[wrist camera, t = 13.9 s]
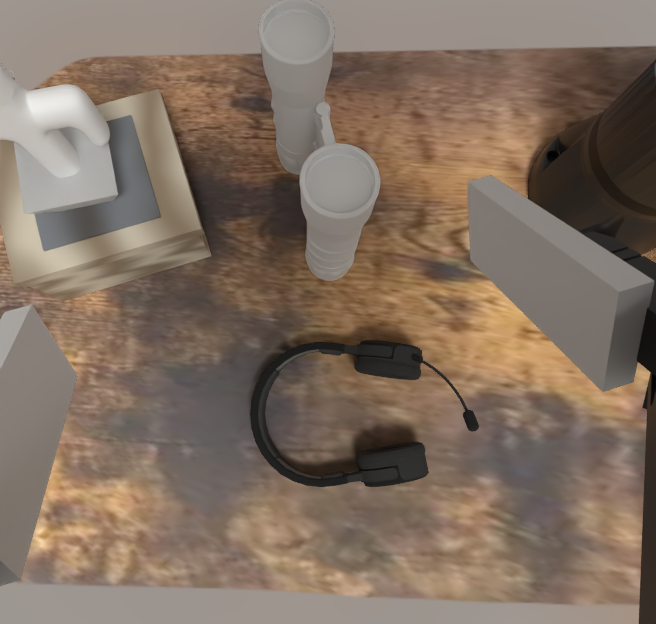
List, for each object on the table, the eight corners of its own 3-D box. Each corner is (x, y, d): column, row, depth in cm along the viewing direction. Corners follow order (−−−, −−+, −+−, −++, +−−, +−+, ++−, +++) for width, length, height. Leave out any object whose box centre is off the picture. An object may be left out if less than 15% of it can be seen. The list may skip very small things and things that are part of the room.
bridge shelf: (179, 132, 54) (158, 86, 46) (216, 254, 51) (200, 227, 44) (26, 175, 52) (-22, 134, 45) (57, 302, 50) (12, 283, 42)
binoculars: (362, 277, 52) (390, 207, 34) (309, 290, 51) (311, 226, 33) (318, 126, 55) (323, -11, 37) (269, 137, 54) (250, 4, 36)
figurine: (146, 209, 44) (64, 107, 29) (34, 233, 43) (-108, 140, 28) (131, 134, 45) (46, -1, 30) (23, 156, 44) (-119, 28, 30)
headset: (485, 497, 39) (233, 499, 40) (462, 480, 48) (258, 482, 49) (472, 327, 41) (236, 334, 42) (453, 342, 50) (259, 347, 51)
